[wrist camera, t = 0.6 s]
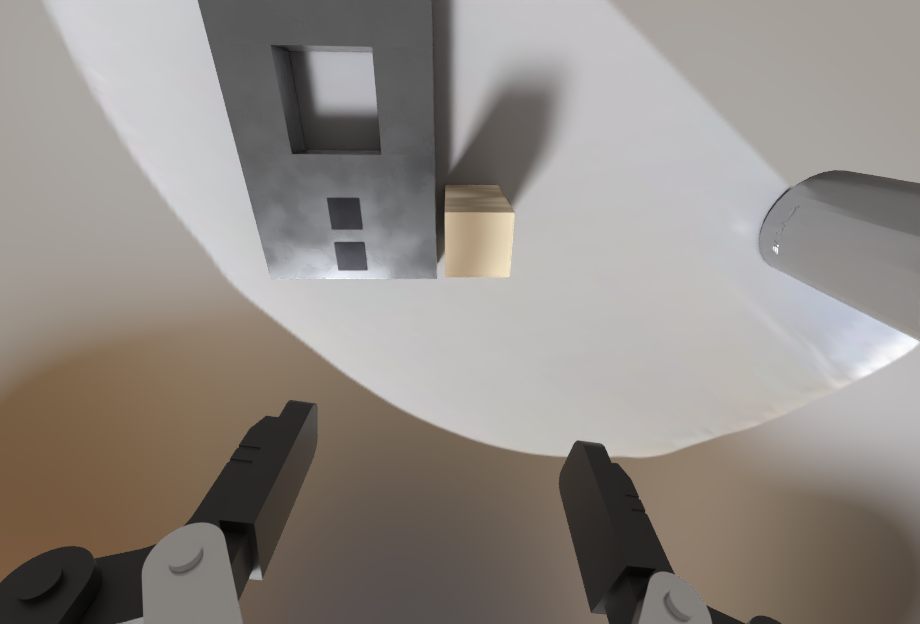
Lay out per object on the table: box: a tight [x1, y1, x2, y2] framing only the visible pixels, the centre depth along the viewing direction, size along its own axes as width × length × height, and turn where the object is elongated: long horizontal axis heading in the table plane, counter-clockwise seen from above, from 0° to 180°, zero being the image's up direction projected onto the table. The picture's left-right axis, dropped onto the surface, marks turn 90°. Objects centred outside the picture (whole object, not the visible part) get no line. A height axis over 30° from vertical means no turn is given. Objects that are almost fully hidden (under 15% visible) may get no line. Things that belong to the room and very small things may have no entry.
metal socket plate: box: [198, 0, 437, 279], centre depth 28 cm, size 14×20×3 cm
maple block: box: [445, 185, 515, 277], centre depth 28 cm, size 4×4×9 cm
